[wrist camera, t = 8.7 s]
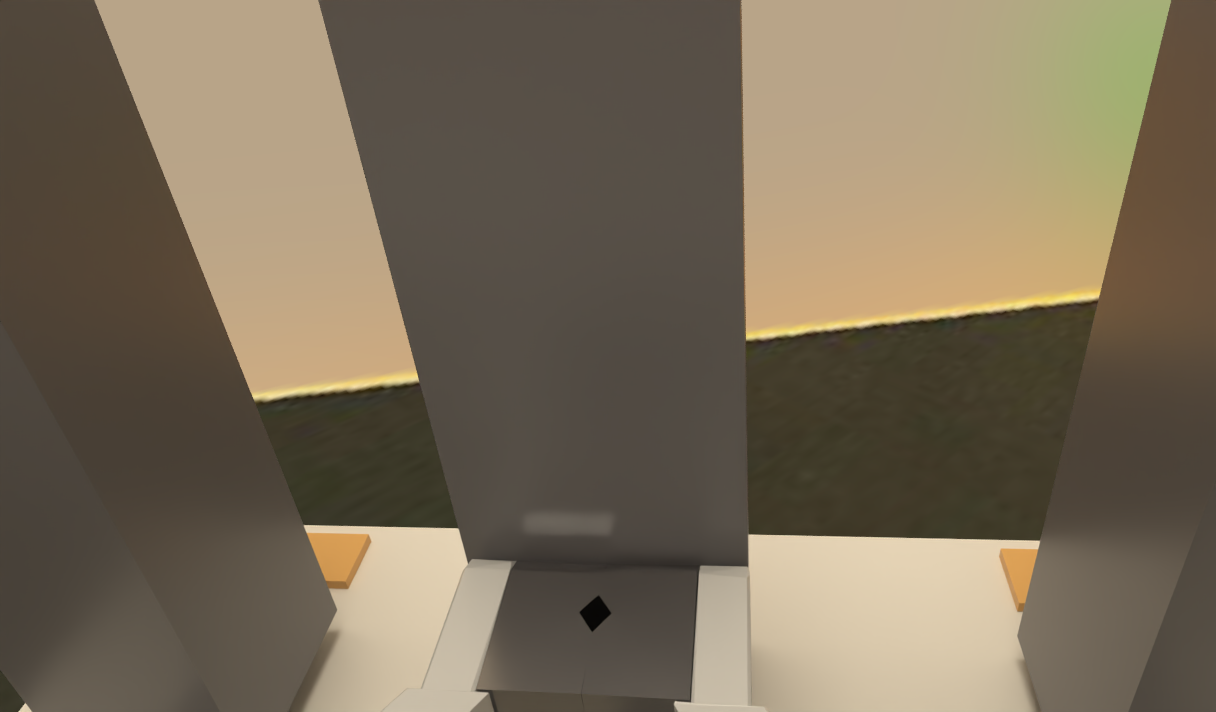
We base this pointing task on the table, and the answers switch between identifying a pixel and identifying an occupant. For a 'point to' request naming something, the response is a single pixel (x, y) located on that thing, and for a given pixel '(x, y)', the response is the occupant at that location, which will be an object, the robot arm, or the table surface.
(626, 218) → the grey rectangular pillar
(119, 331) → the left switch
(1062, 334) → the table surface
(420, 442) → the table surface
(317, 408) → the table surface
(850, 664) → the switch bank
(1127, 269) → the tall grey switch
